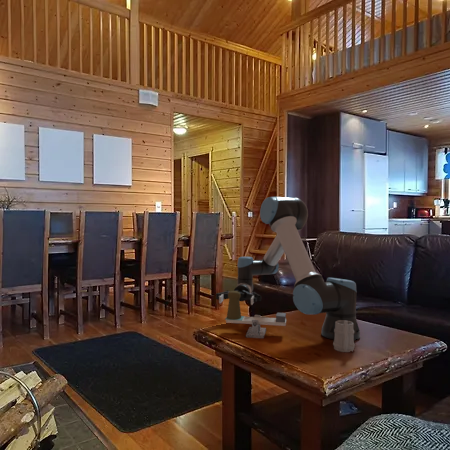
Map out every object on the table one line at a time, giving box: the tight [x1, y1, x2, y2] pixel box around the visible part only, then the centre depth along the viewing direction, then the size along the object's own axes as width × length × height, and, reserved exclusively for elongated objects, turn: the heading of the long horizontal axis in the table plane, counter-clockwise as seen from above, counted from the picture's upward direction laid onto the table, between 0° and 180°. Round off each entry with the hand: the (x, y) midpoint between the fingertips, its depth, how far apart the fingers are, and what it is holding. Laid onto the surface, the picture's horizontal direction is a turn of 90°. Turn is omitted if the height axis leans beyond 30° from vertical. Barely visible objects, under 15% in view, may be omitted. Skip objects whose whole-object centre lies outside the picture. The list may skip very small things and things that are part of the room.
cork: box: [226, 290, 242, 319], centre depth 176 cm, size 6×6×11 cm
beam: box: [224, 312, 287, 327], centre depth 174 cm, size 24×7×4 cm, turn 80°
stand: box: [245, 314, 267, 339], centre depth 174 cm, size 7×12×7 cm, turn 170°
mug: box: [332, 320, 356, 353], centre depth 153 cm, size 8×12×12 cm, turn 169°
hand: (235, 300), depth 180 cm, fingers open, 13 cm apart
